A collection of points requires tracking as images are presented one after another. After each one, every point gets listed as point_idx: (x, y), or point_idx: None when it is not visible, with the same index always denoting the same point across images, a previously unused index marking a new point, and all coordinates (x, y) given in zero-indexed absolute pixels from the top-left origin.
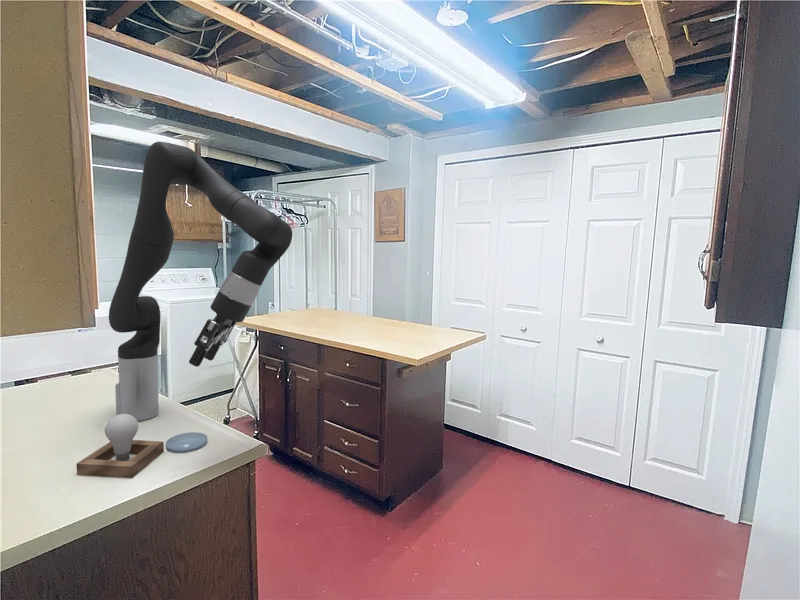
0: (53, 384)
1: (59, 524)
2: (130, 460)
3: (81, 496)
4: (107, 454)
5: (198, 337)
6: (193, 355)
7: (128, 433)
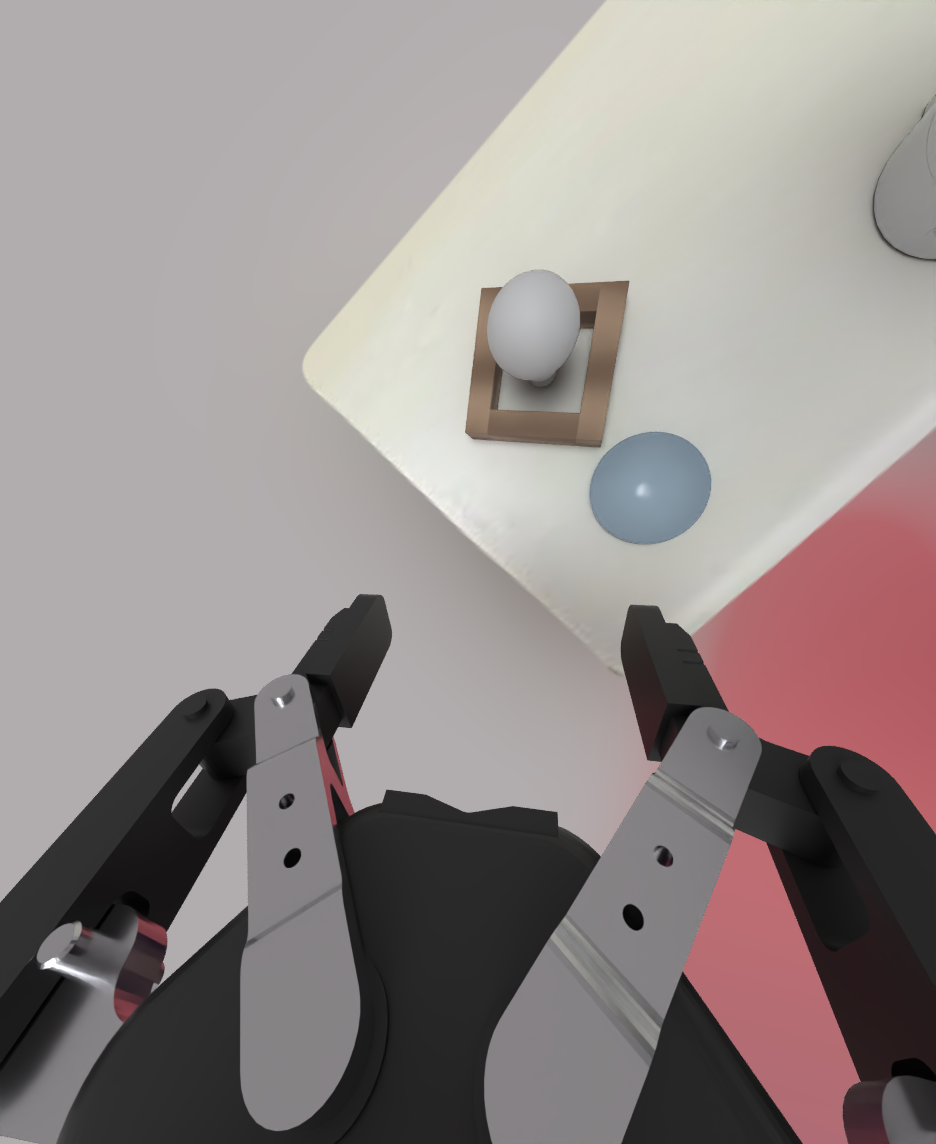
0: None
1: (339, 402)
2: (494, 412)
3: (411, 379)
4: None
5: (134, 759)
6: (317, 638)
7: (504, 370)
